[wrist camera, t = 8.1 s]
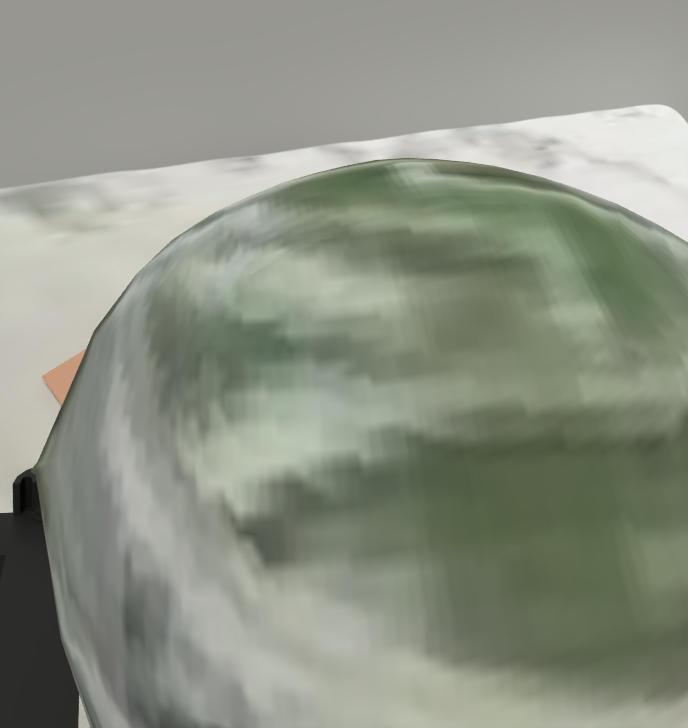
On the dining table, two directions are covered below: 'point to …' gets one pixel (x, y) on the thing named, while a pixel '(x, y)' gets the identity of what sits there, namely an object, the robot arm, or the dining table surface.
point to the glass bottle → (383, 464)
